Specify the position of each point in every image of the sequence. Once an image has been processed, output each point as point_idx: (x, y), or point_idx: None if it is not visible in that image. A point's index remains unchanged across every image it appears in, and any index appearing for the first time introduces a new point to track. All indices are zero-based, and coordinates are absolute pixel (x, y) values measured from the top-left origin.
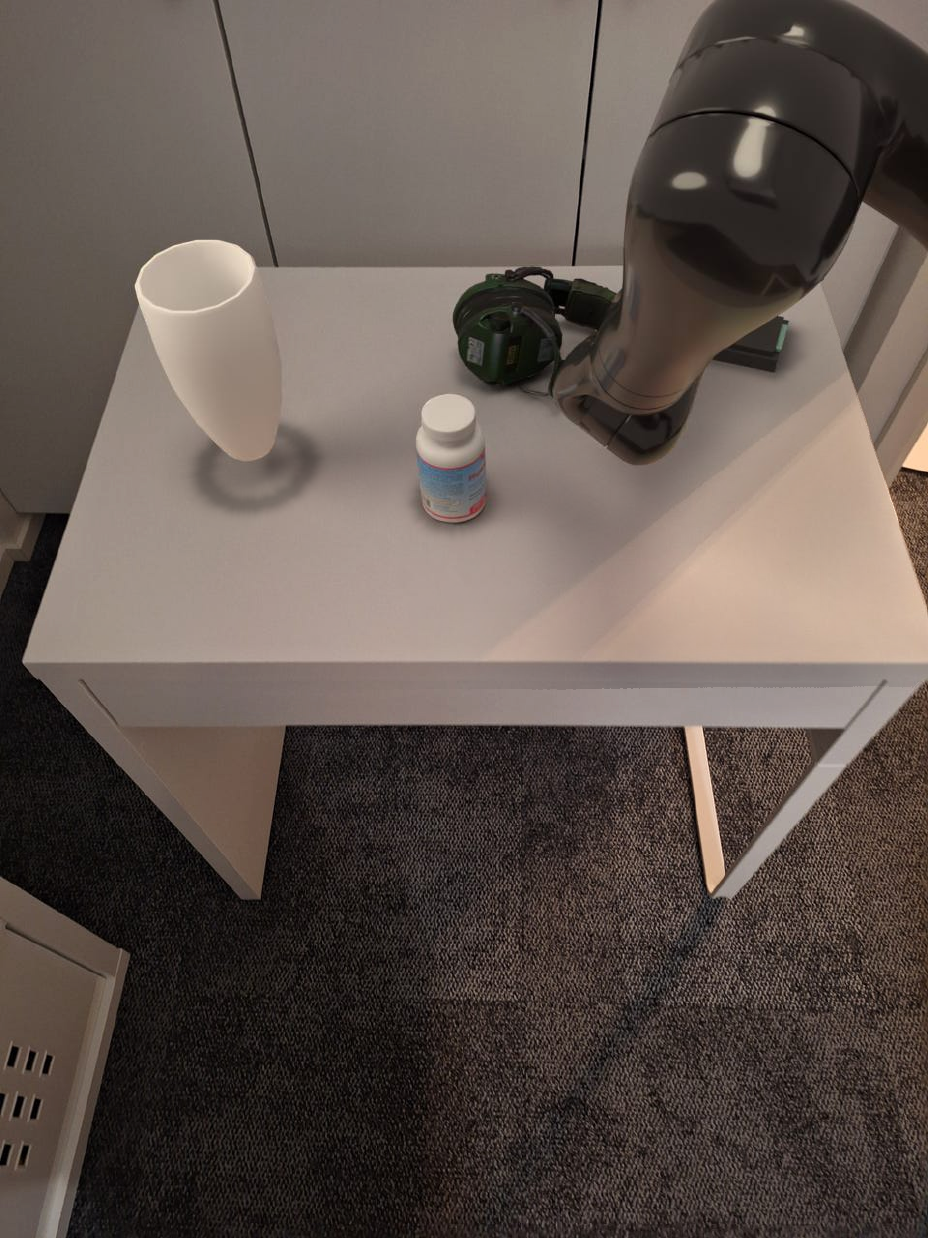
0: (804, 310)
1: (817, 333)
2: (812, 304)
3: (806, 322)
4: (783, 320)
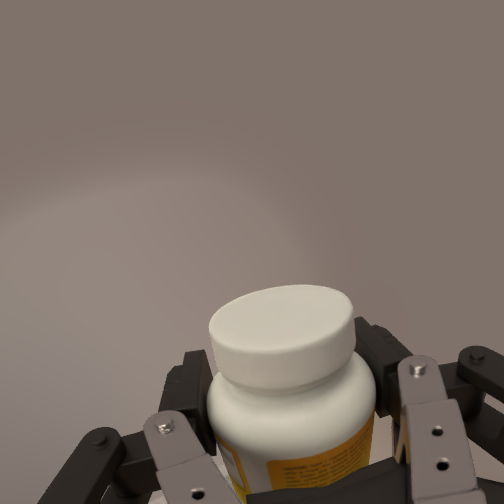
0: None
1: None
2: None
3: None
4: None
